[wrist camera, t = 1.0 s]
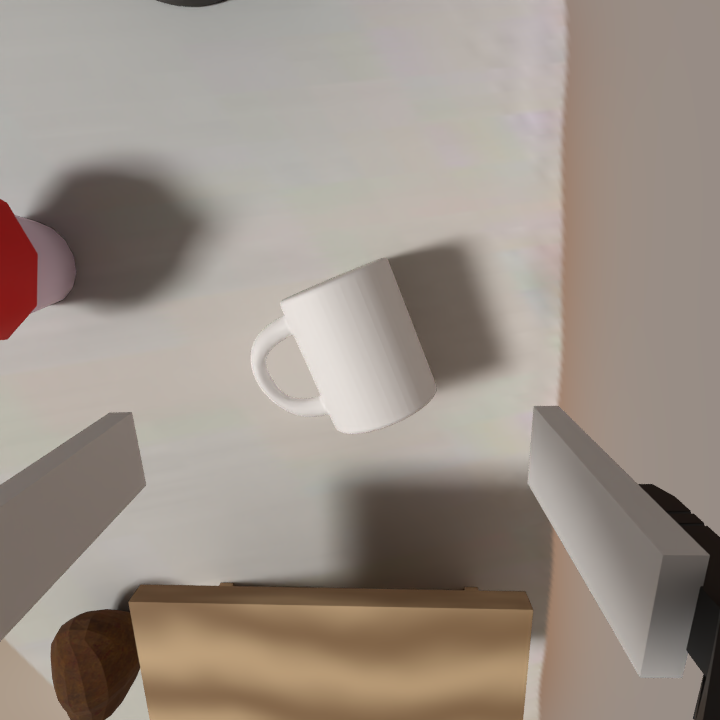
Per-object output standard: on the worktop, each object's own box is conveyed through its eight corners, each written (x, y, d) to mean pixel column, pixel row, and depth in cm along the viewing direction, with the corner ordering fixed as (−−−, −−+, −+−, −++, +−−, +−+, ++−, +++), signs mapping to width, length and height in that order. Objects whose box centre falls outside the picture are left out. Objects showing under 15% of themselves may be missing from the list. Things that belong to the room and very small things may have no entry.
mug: (386, 255, 33) (387, 257, 26) (431, 372, 35) (445, 407, 28) (246, 313, 35) (207, 332, 27) (297, 422, 37) (275, 468, 29)
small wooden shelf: (209, 488, 39) (128, 602, 26) (482, 489, 38) (533, 609, 25) (226, 634, 43) (163, 793, 30) (474, 640, 42) (514, 808, 29)
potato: (103, 664, 45) (46, 750, 37) (78, 583, 42) (10, 657, 35) (172, 661, 44) (129, 748, 36) (151, 579, 42) (99, 653, 34)
